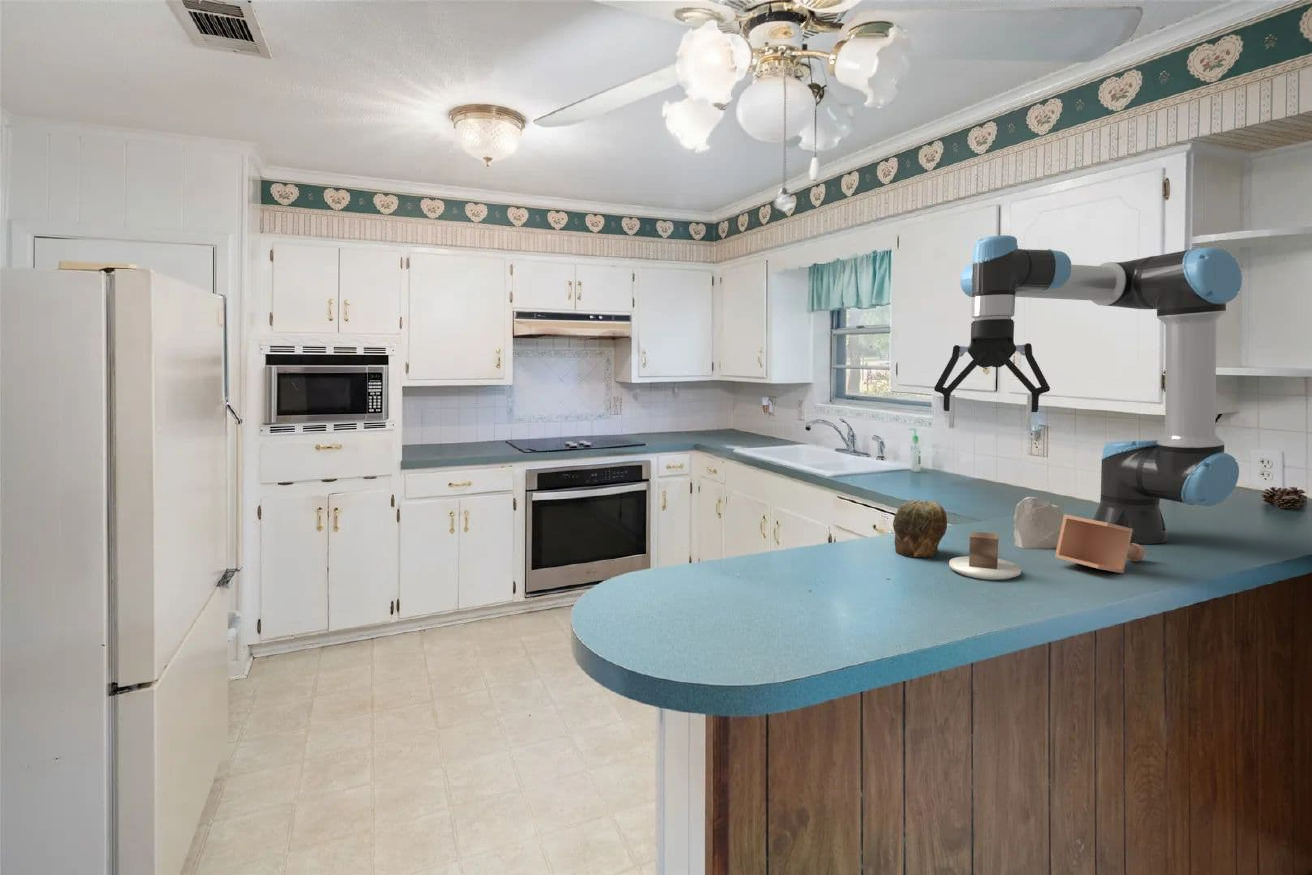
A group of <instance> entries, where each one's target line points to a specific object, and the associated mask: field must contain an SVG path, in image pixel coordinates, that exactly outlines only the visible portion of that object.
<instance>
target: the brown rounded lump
mask: <svg viewBox="0 0 1312 875" xmlns="http://www.w3.org/2000/svg"><path fill="white" fill-rule="evenodd" d="M947 519H948V518H947V513H946V511H945V508H944V507H943V506H942V505H941V504H940V503H938V502H937V501H932V500H930V501H929V500H924V501H921V500H919V499H916V500H914V499H913V500H908V501H905V502H903V503H901V505H900V506H899V507H898V509H897V512H895V515H894V517H893V520H892V521H893V523H892V527H893V532H894V550H895V551H894V552H895V553H897V554H899V555H902V556H904V557H909V558H933V557H934V556H936V554H937V553H938V549H939V548H938V547H939V544H940V542H941V540H942V538H943V537H944V536H945V535H946V531H947V529H948V520H947Z"/></svg>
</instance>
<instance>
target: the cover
mask: <svg viewBox="0 0 1312 875" xmlns="http://www.w3.org/2000/svg"><path fill="white" fill-rule="evenodd" d="M1132 531H1133V529H1131V528H1127V527H1123V526H1119V525H1115V524H1111V523H1106V522H1101V521H1096V520H1093V519H1092V518H1091V519H1090V518H1085V517H1079V516H1074V515H1070V514H1065V513H1063V522H1062V526H1061V531H1060V536H1059V540H1058V545H1057V548H1055V549H1056V550H1055V556H1054V558H1055V559H1058V560H1059V559H1060V560H1063V561H1067V562H1072V563H1076V564H1080V565H1083V566H1086V567H1091V568H1095V569H1098V570H1104V571H1109V572H1113V573H1117V574H1118V573H1120V574H1124V572H1125V567H1126V563H1127V560H1128V561H1130V562H1136V563H1137V562H1139V561H1142V560H1144V558H1145V556H1146V550H1145V548H1144V547H1143V546H1142V545H1140V543H1130V540H1131V536H1132Z"/></svg>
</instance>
